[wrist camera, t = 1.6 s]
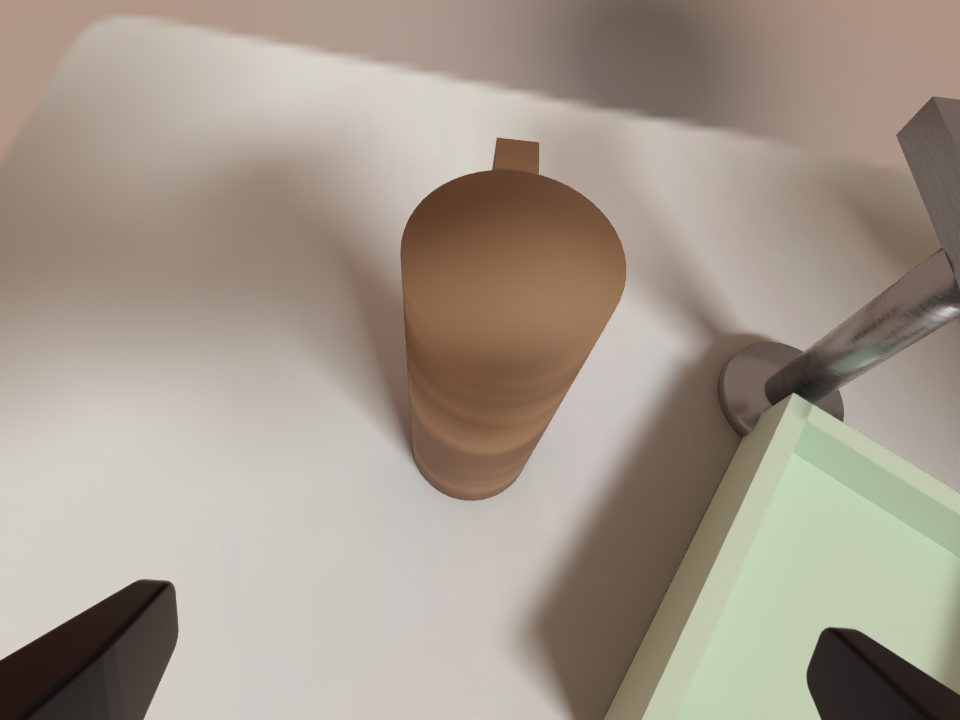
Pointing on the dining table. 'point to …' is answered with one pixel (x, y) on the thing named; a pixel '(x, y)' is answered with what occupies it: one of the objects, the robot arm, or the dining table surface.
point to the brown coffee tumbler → (500, 315)
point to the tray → (800, 575)
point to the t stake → (886, 319)
